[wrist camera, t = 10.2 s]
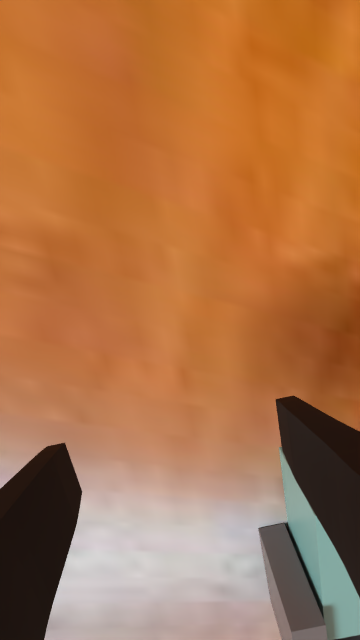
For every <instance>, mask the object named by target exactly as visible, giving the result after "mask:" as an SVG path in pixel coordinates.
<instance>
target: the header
mask: <svg viewBox="0 0 360 640" xmlns="http://www.w3.org/2000/svg"><path fill="white" fill-rule="evenodd" d="M258 529H259V535H260V541H261V546H262V552H263V558H264V564H265V570H266V575H267V581H268V587H269V593H270V599H271V604H272V607H273V610H274V614H275V617H276V621H277V624H278V628H279V631H280V635H281V638H282V640H327V631H326V624H325V622H324V619H323V617H322V614H321V612H320V609H319V607H318V605H317V602H316V600H315V597H314V595H313V592H312V590H311V588H310V585H309V583H308V580H307V578H306V575H305V573H304V570H303V568H302V566H301V563H300V561H299V558H298V556H297V553H296V551H295V549H294V546H293V544H292V541H291V539H290V536H289V534H288V531H287V529H286V527H285V524H284V523H283V524H278V525H273V526H268V527H263V528H258ZM335 640H360V635H356V636H351V637H346V638H340V639H335Z"/></svg>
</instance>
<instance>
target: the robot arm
mask: <svg viewBox="0 0 360 640" xmlns="http://www.w3.org/2000/svg"><path fill="white" fill-rule="evenodd" d="M276 406H277V414H278V421H279V429H280V436H281V444H282V451H283V453H284V455H285V458H286V460H287V462H288V465H289V467H290V469H291V472H292V474H293V476H294V478H295V480H296V482H297V484H298V485H299V487H300V489H301V491H302V492H303V494H304V496H305V498H306V499H307V501H308V503H309V505H310V506H311V508H312V510H313V511H314V513H315V515H316V516H317V518H318V520H319V522H320V523H321V525H322V527H323V528H324V530H325V532H326V534H327V535H328V537H329V539H330V540H331V542H332V544H333V546H334V547H335V549H336V551H337V553H338V555H339V557H340V559H341V560H342V562H343V564H344V566H345V568H346V571H347V573H348V575H349V577H350V579H351V581H352V583H353V585H354V587H355V589H356V592H357V594H358V596H359V598H360V432H359V431H357V430H355V429H353V428H351V427H349V426H347V425H345V424H344V423H342V422H340V421H338V420H336V419H334V418H332V417H331V416H329V415H327V414H325V413H323V412H322V411H320V410H318V409H316V408H315V407H313V406H311V405H309V404H308V403H306V402H304V401H302V400H301V399H299V398H297V397H295V396H289V397H285V398H280V399H276ZM81 495H82V490H81V487H80V484H79V482H78V479H77V476H76V473H75V470H74V467H73V465H72V462H71V459H70V456H69V453H68V450H67V448H66V445H65V443H61V444H56V445H51V446H47V447H46V448H45V449H43V450H42V451H41V452H40V453H38V454H37V455H36V456H35V457H34V458H33V459H32V460H31V461H30V462H29V463H28V464H26V465H25V466H24V467H23V468H22V469H21V470H20V471H19V472H18V473H17V474H16V475H15V476H14V477H13V478H12V479H10V480H9V481H8V482H7V483H6V484H5V485H4V486H3V487H2V488H1V489H0V640H44V638H45V633H46V628H47V624H48V620H49V616H50V612H51V608H52V605H53V601H54V598H55V595H56V591H57V588H58V585H59V581H60V578H61V575H62V571H63V568H64V565H65V562H66V558H67V555H68V552H69V548H70V545H71V541H72V538H73V535H74V531H75V528H76V524H77V519H78V514H79V508H80V502H81Z"/></svg>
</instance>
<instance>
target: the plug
mask: <svg viewBox="0 0 360 640" xmlns="http://www.w3.org/2000/svg"><path fill="white" fill-rule="evenodd" d="M279 451H280V460H281V469H282V477H283V486H284V494H285V503H286V512H287V520H288V529H289V536H290V539H291V541H292V544H293V546H294V549H295V551H296V553H297V556H298V558H299V561H300V563H301V566H302V568H303V570H304V573H305V575H306V578H307V580H308V583H309V585H310V588H311V590H312V592H313V595H314V597H315V600H316V602H317V605H318V607H319V609H320V612H321V614H322V617H323V619H324V622H325V624H326V631H327V640H335V639H340V638H346V637H351V636H356V635H360V598H359V596H358V594H357V592H356V589H355V587H354V585H353V583H352V581H351V579H350V577H349V575H348V573H347V571H346V568H345V566H344V564H343V562H342V560H341V559H340V557H339V555H338V553H337V551H336V549H335V547H334V546H333V544H332V542H331V540H330V539H329V537H328V535H327V534H326V532H325V530H324V528H323V527H322V525H321V523H320V522H319V520H318V518H317V516H316V515H315V513H314V511H313V510H312V508H311V506H310V505H309V503H308V501H307V499H306V498H305V496H304V494H303V492H302V491H301V489H300V487H299V485H298V484H297V482H296V480H295V478H294V476H293V474H292V472H291V469H290V467H289V465H288V462H287V460H286V458H285V455H284V453H283V451H282V447H279Z"/></svg>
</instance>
